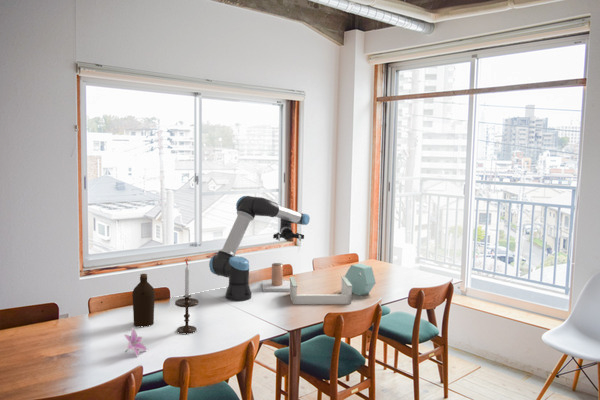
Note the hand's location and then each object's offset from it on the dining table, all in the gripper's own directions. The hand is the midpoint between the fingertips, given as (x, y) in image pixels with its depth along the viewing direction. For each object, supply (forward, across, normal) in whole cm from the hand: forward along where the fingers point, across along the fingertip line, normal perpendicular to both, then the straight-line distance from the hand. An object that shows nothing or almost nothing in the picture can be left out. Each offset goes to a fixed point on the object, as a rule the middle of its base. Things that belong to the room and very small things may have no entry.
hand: (289, 238), depth 315 cm
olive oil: (+66, +78, -32) cm, 107 cm away
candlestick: (+76, +56, -32) cm, 99 cm away
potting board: (+3, +8, -31) cm, 32 cm away
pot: (+3, +8, -29) cm, 30 cm away
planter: (+15, -43, -31) cm, 55 cm away
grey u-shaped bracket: (+27, -16, -31) cm, 44 cm away
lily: (+101, +75, -32) cm, 130 cm away
